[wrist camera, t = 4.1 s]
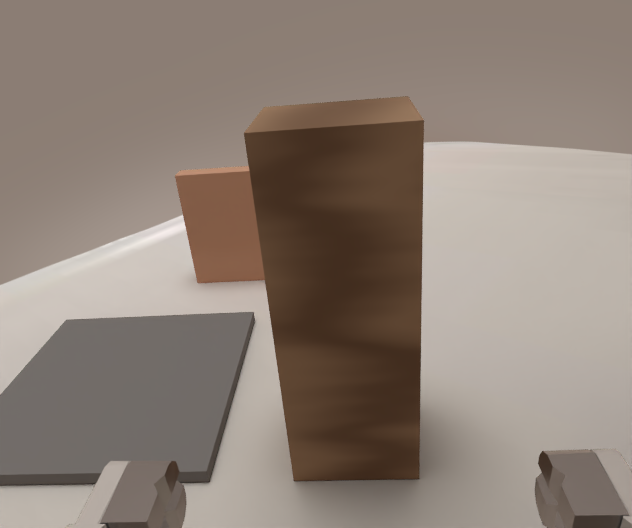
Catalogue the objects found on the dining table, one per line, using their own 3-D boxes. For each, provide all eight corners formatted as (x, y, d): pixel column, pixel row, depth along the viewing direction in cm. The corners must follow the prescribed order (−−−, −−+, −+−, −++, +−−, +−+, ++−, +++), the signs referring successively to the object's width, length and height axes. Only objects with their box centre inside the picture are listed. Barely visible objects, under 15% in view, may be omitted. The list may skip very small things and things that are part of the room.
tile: (337, 267, 37) (329, 159, 34) (336, 277, 36) (328, 165, 32) (202, 273, 38) (181, 169, 35) (197, 283, 37) (174, 175, 33)
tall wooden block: (406, 399, 24) (405, 93, 18) (419, 478, 20) (423, 120, 14) (302, 401, 25) (266, 103, 19) (293, 480, 21) (243, 132, 14)
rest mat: (254, 320, 32) (253, 311, 31) (209, 481, 21) (206, 471, 21) (69, 327, 33) (66, 319, 32) (-65, 485, 22) (-71, 475, 22)
